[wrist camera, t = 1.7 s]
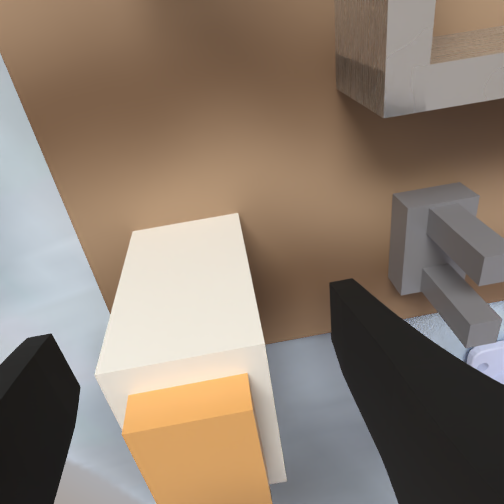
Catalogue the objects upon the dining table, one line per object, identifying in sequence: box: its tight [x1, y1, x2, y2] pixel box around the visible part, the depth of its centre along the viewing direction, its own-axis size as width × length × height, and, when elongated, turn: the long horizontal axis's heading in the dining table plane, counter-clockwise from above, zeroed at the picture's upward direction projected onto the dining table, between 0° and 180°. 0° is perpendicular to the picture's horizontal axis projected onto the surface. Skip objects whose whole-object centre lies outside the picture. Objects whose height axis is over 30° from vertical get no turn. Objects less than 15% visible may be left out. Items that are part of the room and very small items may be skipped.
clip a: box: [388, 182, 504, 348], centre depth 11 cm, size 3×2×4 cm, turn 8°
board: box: [0, 0, 504, 344], centre depth 11 cm, size 16×14×1 cm
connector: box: [95, 213, 287, 504], centre depth 10 cm, size 4×3×6 cm, turn 8°
